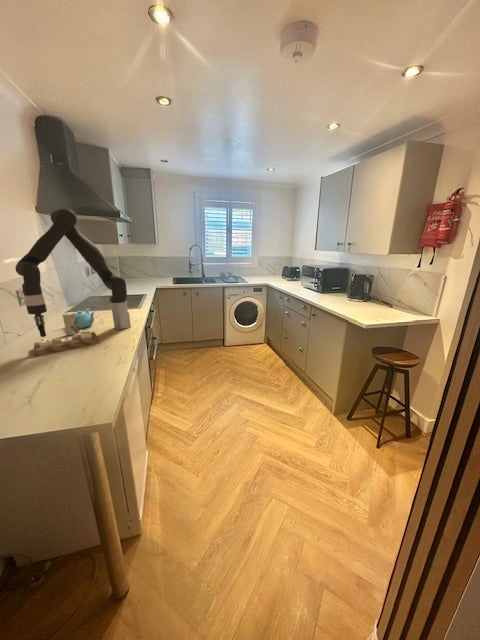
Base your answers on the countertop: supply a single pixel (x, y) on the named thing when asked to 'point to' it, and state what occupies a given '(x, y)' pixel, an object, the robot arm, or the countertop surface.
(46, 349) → the button panel
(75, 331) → the box
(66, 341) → the button one
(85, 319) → the teapot
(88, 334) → the button three
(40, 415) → the countertop surface
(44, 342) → the button two
